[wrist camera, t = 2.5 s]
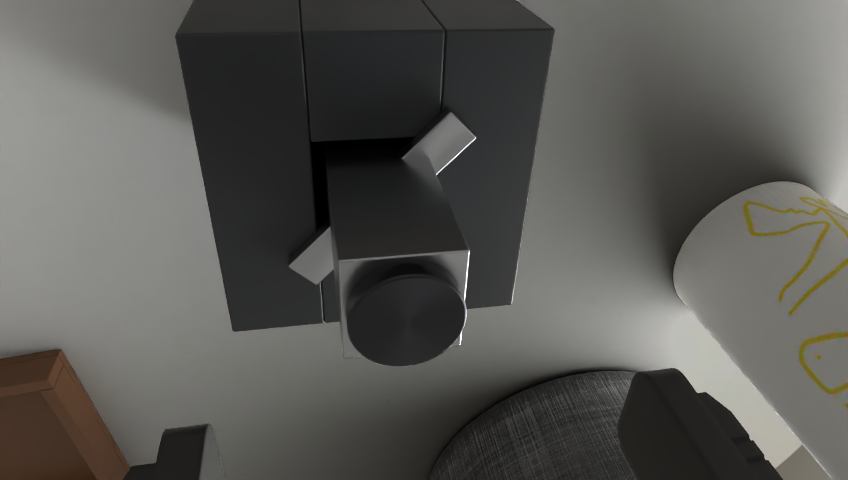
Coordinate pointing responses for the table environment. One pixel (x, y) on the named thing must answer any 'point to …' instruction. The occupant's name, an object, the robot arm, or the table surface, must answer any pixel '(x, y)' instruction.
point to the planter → (545, 434)
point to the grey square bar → (392, 244)
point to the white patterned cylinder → (779, 305)
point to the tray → (52, 424)
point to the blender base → (356, 128)
